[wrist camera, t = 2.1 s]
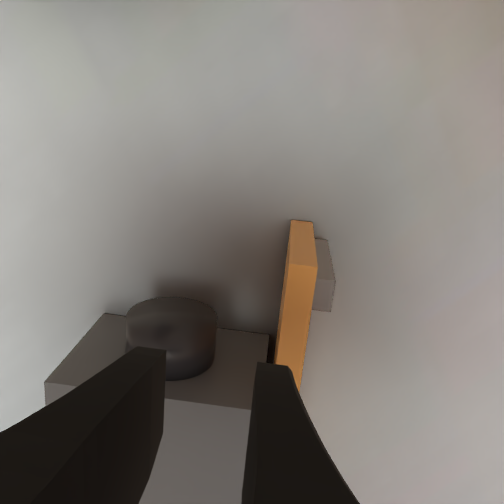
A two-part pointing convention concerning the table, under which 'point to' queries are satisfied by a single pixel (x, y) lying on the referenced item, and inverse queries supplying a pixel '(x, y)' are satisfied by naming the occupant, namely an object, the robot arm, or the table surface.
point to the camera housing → (182, 393)
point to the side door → (302, 294)
